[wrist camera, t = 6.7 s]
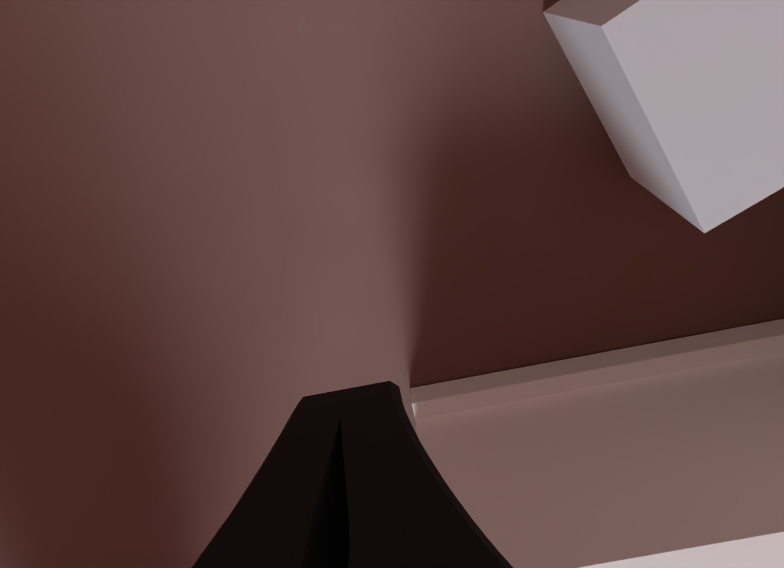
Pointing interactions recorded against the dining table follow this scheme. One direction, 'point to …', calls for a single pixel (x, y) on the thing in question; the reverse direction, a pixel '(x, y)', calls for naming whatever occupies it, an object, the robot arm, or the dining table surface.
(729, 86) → the pale grey notched block
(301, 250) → the dining table surface
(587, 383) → the wall shelf
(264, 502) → the robot arm
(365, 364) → the dining table surface
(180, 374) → the dining table surface
